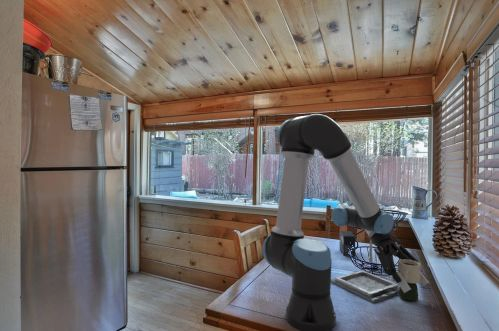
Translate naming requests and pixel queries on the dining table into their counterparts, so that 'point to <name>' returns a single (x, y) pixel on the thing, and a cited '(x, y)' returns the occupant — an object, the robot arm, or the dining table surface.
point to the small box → (347, 242)
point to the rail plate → (367, 286)
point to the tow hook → (370, 252)
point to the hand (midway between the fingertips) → (416, 287)
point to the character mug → (409, 278)
